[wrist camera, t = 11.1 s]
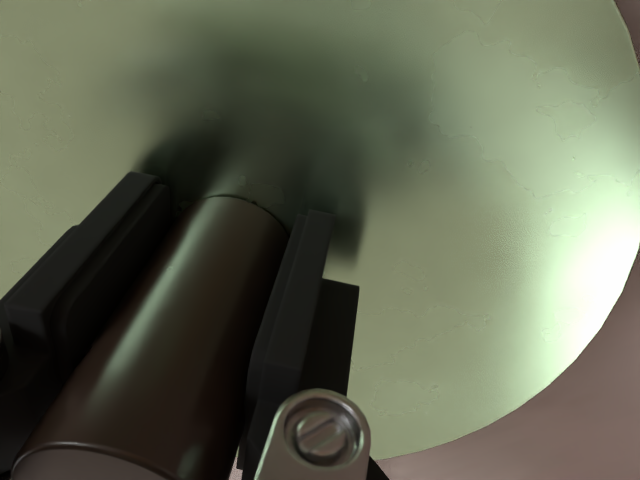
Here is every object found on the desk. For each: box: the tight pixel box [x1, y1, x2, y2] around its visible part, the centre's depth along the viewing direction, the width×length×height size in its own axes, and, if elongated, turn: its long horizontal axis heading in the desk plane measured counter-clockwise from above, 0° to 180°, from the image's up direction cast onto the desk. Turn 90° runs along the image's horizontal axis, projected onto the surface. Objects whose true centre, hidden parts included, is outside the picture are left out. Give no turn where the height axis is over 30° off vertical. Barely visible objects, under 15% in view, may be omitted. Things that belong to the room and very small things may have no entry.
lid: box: [0, 0, 640, 480], centre depth 9 cm, size 16×16×7 cm
